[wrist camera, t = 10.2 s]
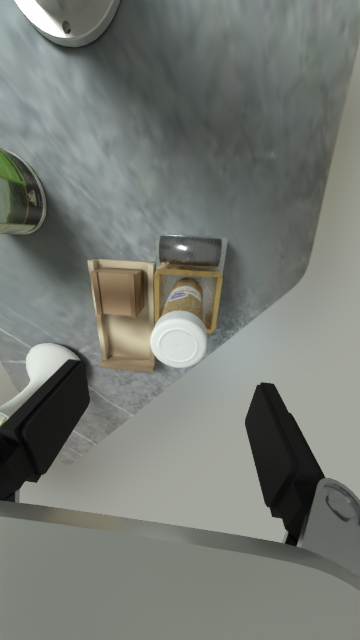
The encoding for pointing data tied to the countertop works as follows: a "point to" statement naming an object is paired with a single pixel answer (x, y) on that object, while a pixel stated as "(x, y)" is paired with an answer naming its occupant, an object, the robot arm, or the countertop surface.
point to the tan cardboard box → (118, 291)
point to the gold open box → (190, 270)
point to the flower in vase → (38, 373)
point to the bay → (127, 324)
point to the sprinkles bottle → (181, 327)
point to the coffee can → (19, 196)
